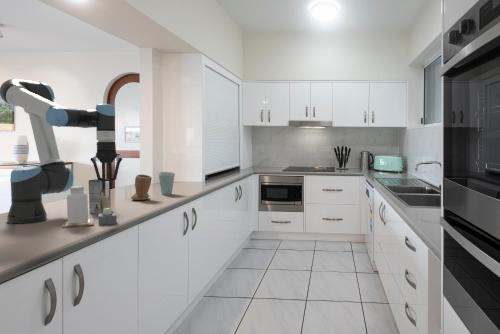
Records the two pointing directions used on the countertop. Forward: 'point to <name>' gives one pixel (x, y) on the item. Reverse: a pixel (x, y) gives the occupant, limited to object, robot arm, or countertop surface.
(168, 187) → the disposable coffee cup
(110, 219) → the button housing
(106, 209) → the button
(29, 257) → the countertop surface
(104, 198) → the coffee box
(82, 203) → the pill bottle
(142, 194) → the stone cup
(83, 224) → the clipboard
